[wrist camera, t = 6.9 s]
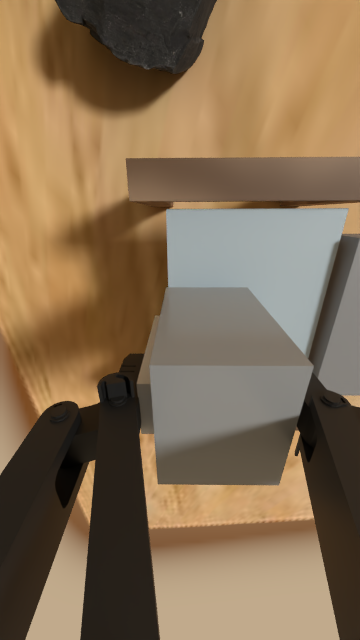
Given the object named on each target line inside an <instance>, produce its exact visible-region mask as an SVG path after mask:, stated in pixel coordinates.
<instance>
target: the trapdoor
mask: <svg viewBox="0 0 360 640" xmlns="http://www.w3.org/2000/svg"><path fill="white" fill-rule="evenodd" d="M348 209H349V208H313V209H166V220H167V259H168V287H248V289H249V290H250V291H251V292H252V293H253V295H254V296H255V297H256V298H257V299H258V300H259V302H260V303H261V304H262V305H263V306H264V308H265V309H266V310H267V311H268V312H269V313H270V315H271V316H272V317H273V318H274V319H275V321H276V322H277V323H278V324H279V325H280V326H281V328H282V329H283V330H284V331H285V332H286V334H287V335H288V336H289V337H290V338H291V339H292V341H293V342H294V343H295V344H296V345H297V347H298V348H299V349H300V350H301V351H302V352H303V354H304V355H305V356H306V357H307V358H308V360H309V361H310V362H311V363H312V364H313V365H314V368H313V371H312V372H313V373H314V374H315V376H316V377H317V378H318V379H319V381H320V382H321V383H322V384H323V385H324V387H325V388H326V389H327V390H330V391H333V392H336V393H338V394H340V395H360V234H342V231H343V228H344V224H345V220H346V216H347V213H348Z"/></svg>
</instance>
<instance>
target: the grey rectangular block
mask: <svg viewBox="0 0 360 640" xmlns="http://www.w3.org/2000/svg"><path fill="white" fill-rule="evenodd" d="M149 368H150V381H151V395H152V409H153V423H154V437H155V451H156V465H157V478H158V484H190V485H279V483H280V480H281V476H282V473H283V470H284V466H285V463H286V459H287V456H288V453H289V449H290V446H291V442H292V439H293V436H294V432H295V429H296V425H297V422H298V419H299V415H300V412H301V409H302V405H303V402H304V398H305V395H306V392H307V388H308V385H309V381H310V378H311V375H312V371H313V368H314V365H313V364H312V363H311V362H310V361H309V360H308V358H307V357H306V356H305V355H304V354H303V352H302V351H301V350H300V349H299V348H298V347H297V345H296V344H295V343H294V342H293V341H292V339H291V338H290V337H289V336H288V335H287V334H286V332H285V331H284V330H283V329H282V328H281V326H280V325H279V324H278V323H277V322H276V321H275V319H274V318H273V317H272V316H271V315H270V313H269V312H268V311H267V310H266V309H265V308H264V306H263V305H262V304H261V303H260V302H259V300H258V299H257V298H256V297H255V296H254V295H253V293H252V292H251V291H250V290H249V289H248V287H166V290H165V295H164V300H163V304H162V309H161V314H160V318H159V323H158V328H157V332H156V337H155V342H154V346H153V351H152V355H151V360H150V365H149Z"/></svg>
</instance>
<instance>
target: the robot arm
mask: <svg viewBox="0 0 360 640" xmlns="http://www.w3.org/2000/svg"><path fill="white" fill-rule="evenodd" d="M159 318H160V316H155V317H154V321H153V325H152V328H151V332H150V336H149V339H148V343H147V347H146V351H145V354H129V355H128V356H127V357H126V358H125V359H124V360H123V363H122V365H121V368H120V370H119V373H113V374H109V375H107V376H105V377H103V378H102V379H101V380H100V381H99V383H98V385H97V388H98V393H99V398H100V403H98V404H95V405H92V406H88V407H84V408H78V405H77V404H76V403H74V402H71V401H64V402H59V403H56V404H54V405H52V406H50V407H49V408H47V409H46V410H45V411H44V412H43V413H42V415H41V416H40V417H39V419H38V420H37V422H36V423H35V425H34V426H33V428H32V429H31V431H30V432H29V434H28V435H27V437H26V438H25V439H24V441H23V442H22V444H21V445H20V447H19V449H18V450H17V451H16V453H15V454H14V456H13V457H12V459H11V460H10V461H9V463H8V464H7V466H6V467H5V469H4V470H3V472H2V473H1V475H0V640H25V639H26V636H27V633H28V630H29V627H30V624H31V622H32V619H33V616H34V614H35V611H36V608H37V605H38V602H39V600H40V597H41V594H42V591H43V589H44V586H45V583H46V580H47V578H48V575H49V572H50V569H51V566H52V563H53V561H54V558H55V555H56V552H57V550H58V547H59V544H60V541H61V539H62V536H63V533H64V530H65V528H66V525H67V522H68V519H69V517H70V514H71V511H72V508H73V506H74V503H75V500H76V497H77V494H78V492H79V489H80V486H81V483H82V481H83V478H84V475H85V472H86V469H87V467H88V464H89V461H93V460H96V461H95V473H94V485H93V497H92V508H91V520H90V532H89V544H88V556H87V568H86V579H85V580H86V581H85V592H84V603H83V615H82V627H81V639H80V640H160V635H159V625H158V615H157V607H156V596H155V586H154V576H153V568H152V567H153V566H152V556H151V547H150V537H149V527H148V517H147V507H146V498H145V488H144V478H143V468H142V458H141V449H140V439H139V433H140V428H141V433H142V434H154V423H153V409H152V395H151V381H150V368H149V365H150V360H151V355H152V351H153V346H154V342H155V337H156V332H157V328H158V323H159ZM296 426H297V428H298V430H299V432H300V436H299V439H298V443H297V446H296V449H295V456H298V453H299V450H300V453H301V457H302V462H303V467H304V472H305V477H306V481H307V486H308V491H309V496H310V500H311V505H312V510H313V515H314V519H315V524H316V529H317V533H318V538H319V543H320V548H321V552H322V557H323V562H324V567H325V572H326V576H327V581H328V586H329V591H330V595H331V600H332V605H333V610H334V614H335V619H336V624H337V628H338V633H339V637H340V640H360V408H359V407H355V406H351V404H350V403H349V402H348V400H347V399H346V398H344V397H343V396H341V395H340V394H338V393H336V392H333V391H330V390H327V389H326V388H325V387H324V385H323V384H322V383H321V382H320V381H319V379H318V378H317V377H316V376H315V374H314V373H313V372H312V375H311V378H310V381H309V385H308V388H307V392H306V395H305V398H304V402H303V405H302V409H301V412H300V415H299V419H298V422H297V425H296Z"/></svg>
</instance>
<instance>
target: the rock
mask: <svg viewBox="0 0 360 640" xmlns="http://www.w3.org/2000/svg"><path fill="white" fill-rule="evenodd" d="M55 1H56V3H57V5H58V7H59V8H60V10H61V12H62V14H63V15H64V16H65V17H66V19H67V20H69V21H71V22H73V23H76V24H80V25H82V26H85V27H87V28H89V29H90V34H91V35H92V36H93V37H94V38H95V39H96V40H98V41H99V42H100V43H101V44H103V45H105V46H106V47H107V48H108V49H109V50H110V51H111V52H112V53H113V55H114V56H116V57H117V58H118V59H120V60H122V61H124V62H127V63H128V64H130V65H136V66H139V67H141V68H144V69H152V68H154V69H158V70H160V71H167V72H170V73H172V74H178V73H181V72H182V71H186V70H187V69H188V68H190V67H191V66H192V65H193V63H195V61H196V59H197V58H198V56H199V55H200V53H201V50H202V47H203V44H204V40H203V39H202V38H201V37H202V35H203V32H204V30H205V28H206V26H207V22H208V19H209V17H210V14H211V12H212V10H213V7H214V5H215V3H216V1H217V0H55Z"/></svg>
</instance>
